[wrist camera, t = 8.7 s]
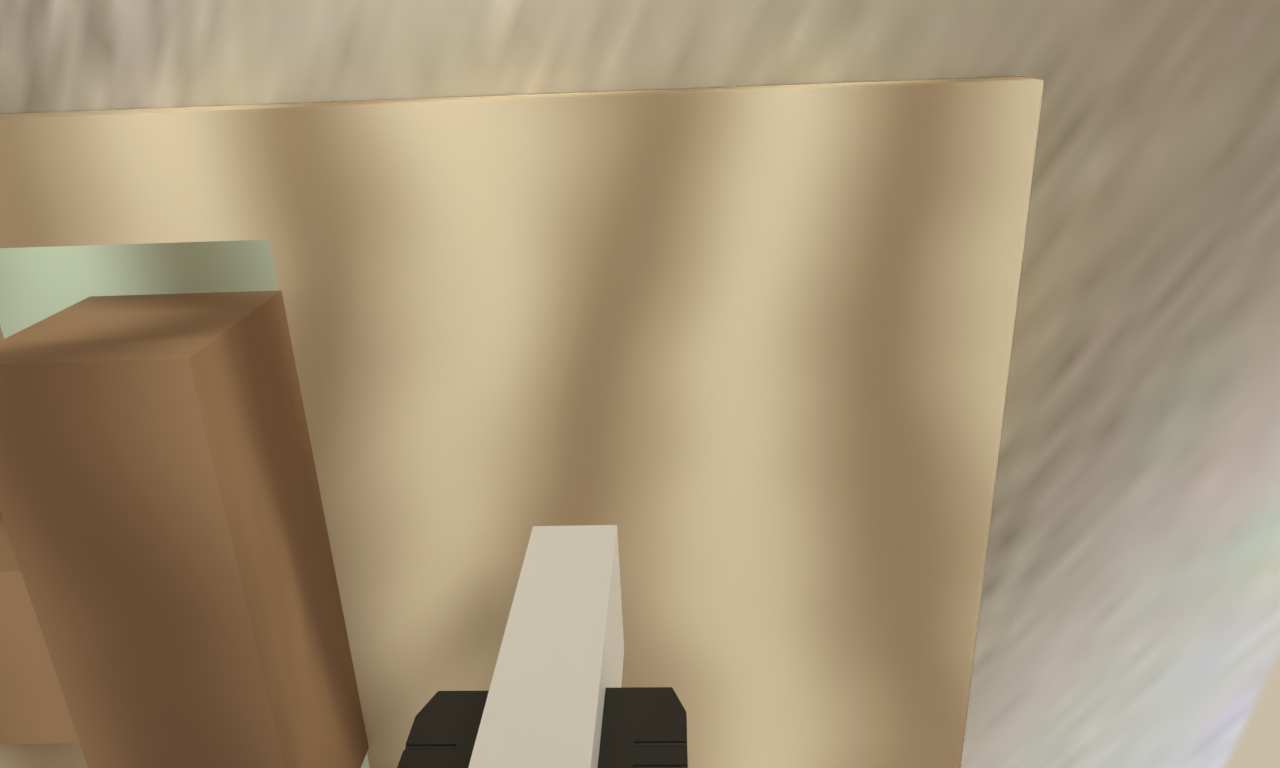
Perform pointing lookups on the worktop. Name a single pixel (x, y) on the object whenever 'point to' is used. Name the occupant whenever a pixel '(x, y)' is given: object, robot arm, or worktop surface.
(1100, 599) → the worktop surface
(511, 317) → the board
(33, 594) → the t block
